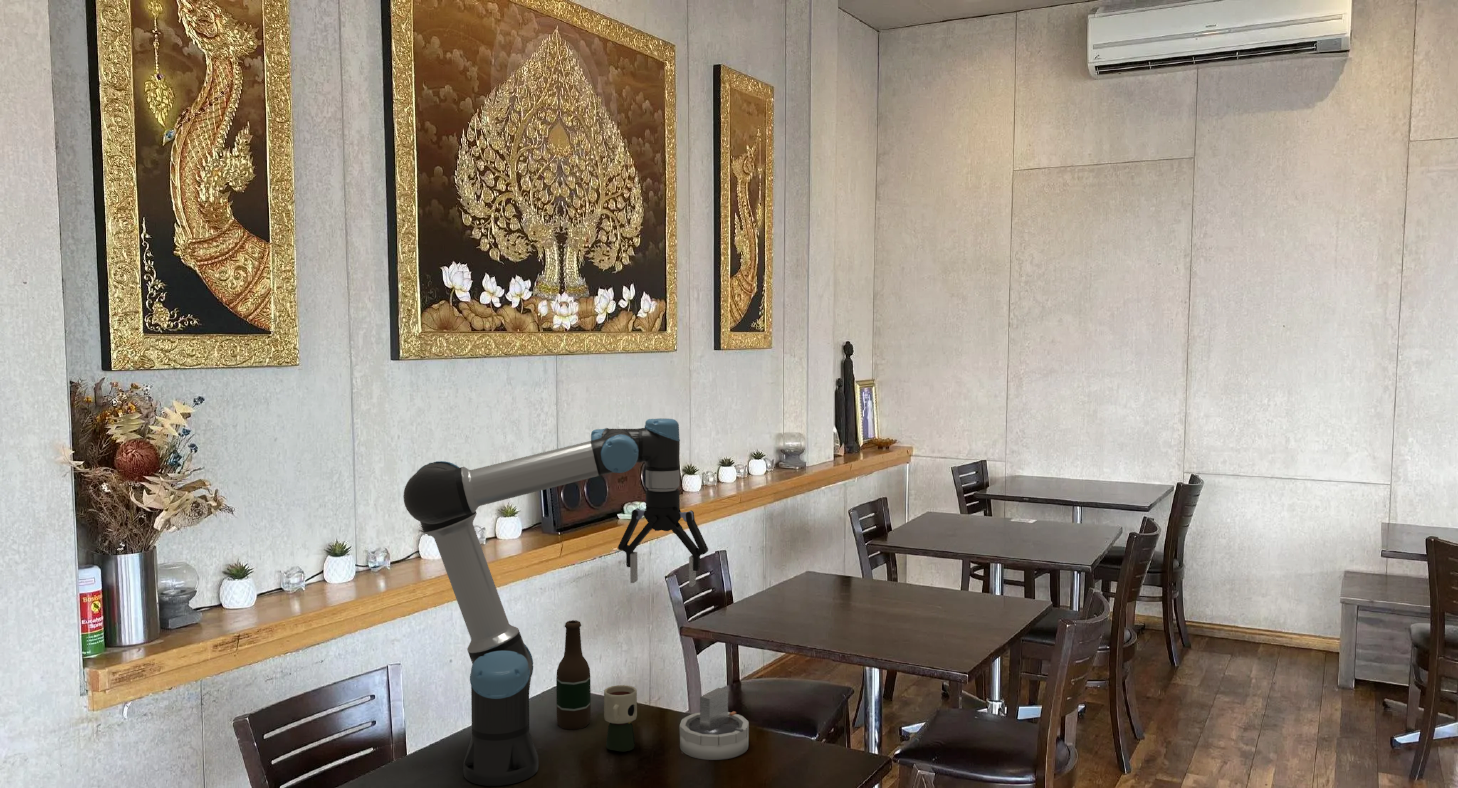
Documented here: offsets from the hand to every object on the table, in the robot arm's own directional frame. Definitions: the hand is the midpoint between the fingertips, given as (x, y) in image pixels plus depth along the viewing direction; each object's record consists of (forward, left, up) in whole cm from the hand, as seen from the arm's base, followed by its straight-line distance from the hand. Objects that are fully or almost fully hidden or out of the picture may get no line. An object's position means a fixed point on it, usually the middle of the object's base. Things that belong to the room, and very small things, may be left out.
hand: (663, 583), depth 230 cm
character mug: (-8, -8, -35) cm, 37 cm away
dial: (+12, -4, -31) cm, 34 cm away
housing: (+12, -4, -35) cm, 37 cm away
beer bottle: (-22, +5, -35) cm, 42 cm away
